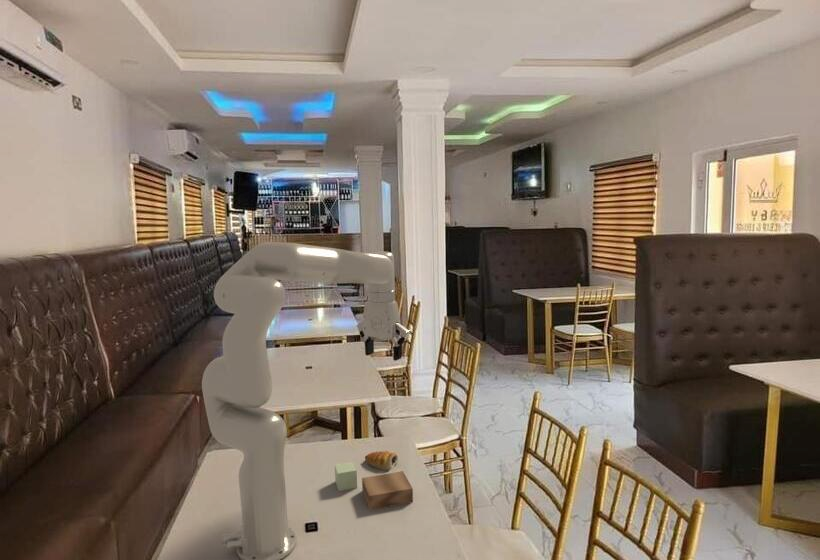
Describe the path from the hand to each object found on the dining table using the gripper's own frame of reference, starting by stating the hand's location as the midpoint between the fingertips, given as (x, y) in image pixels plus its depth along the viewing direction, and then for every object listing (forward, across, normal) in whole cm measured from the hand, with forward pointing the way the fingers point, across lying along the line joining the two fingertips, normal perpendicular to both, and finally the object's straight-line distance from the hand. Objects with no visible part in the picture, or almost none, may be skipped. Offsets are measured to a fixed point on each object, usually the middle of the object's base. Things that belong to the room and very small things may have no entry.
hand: (383, 356), depth 151 cm
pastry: (+32, 0, -2) cm, 32 cm away
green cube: (+31, -2, -16) cm, 35 cm away
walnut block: (+32, +11, -15) cm, 37 cm away
